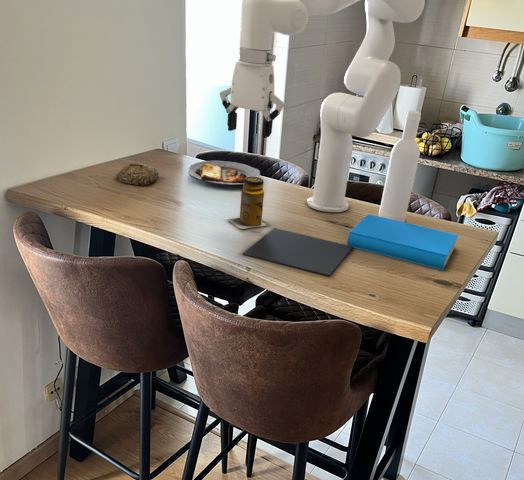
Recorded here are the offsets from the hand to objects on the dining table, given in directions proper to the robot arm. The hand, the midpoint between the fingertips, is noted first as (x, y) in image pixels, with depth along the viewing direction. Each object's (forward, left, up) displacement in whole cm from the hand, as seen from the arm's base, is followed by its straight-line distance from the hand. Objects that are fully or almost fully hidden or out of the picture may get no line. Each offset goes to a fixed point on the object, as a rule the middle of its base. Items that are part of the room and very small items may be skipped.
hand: (248, 133), depth 141 cm
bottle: (-27, +35, -23) cm, 50 cm away
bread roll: (-14, -44, -23) cm, 51 cm away
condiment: (0, +1, -23) cm, 23 cm away
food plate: (-33, -22, -23) cm, 46 cm away
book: (-8, +42, -23) cm, 49 cm away
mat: (+10, +20, -23) cm, 32 cm away
